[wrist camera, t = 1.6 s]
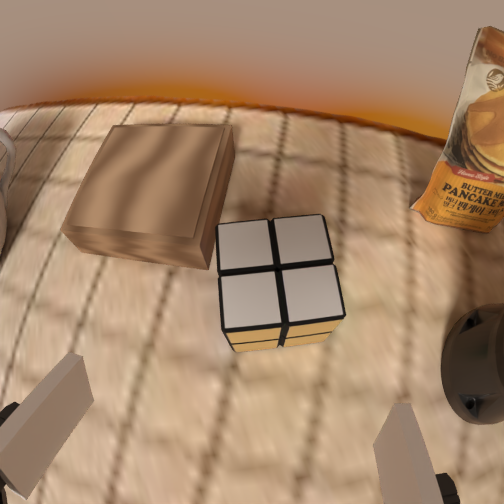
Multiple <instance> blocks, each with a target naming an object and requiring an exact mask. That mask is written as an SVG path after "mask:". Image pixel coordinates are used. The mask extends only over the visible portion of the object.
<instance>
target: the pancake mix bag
mask: <svg viewBox="0 0 504 504" xmlns="http://www.w3.org/2000/svg"><path fill="white" fill-rule="evenodd" d="M410 209H413V210H415V211H418V212H420V214H421V215H422V216H423V218H424V219H425V220H426V221H428V222H431V223H434V224H437V225H443V226H448V227H454V228H460V229H466V230H471V231H475V232H481V233H490V231H491V230H492V228H493V227H494V226H496V225H498V224H499V223H500V221H501V220H502V218H503V217H504V31H501V30H499V29H497V28H494V27H492V26H488V27H484V28H480V29H478V31H477V35H476V37H475V41H474V43H473V47H472V50H471V54H470V57H469V60H468V64H467V67H466V74H465V81H464V84H463V87H462V91H461V94H460V96H459V99H458V102H457V105H456V108H455V111H454V114H453V118H452V122H451V126H450V131H449V135H448V139H447V143H446V146H445V148H444V150H443V152H442V154H441V156H440V158H439V160H438V161H437V163H436V165H435V167H434V169H433V173H432V176H431V179H430V182H429V184H428V186H427V188H426V190H425V192H424V194H423V195H421V196H420V197H418V198H417V199H416V201H415V202H414V203H413V204H412V206H411V207H410Z"/></svg>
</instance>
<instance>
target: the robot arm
mask: <svg viewBox="0 0 504 504" xmlns="http://www.w3.org/2000/svg"><path fill="white" fill-rule="evenodd" d="M441 373H442V383H443V388H444V392H445V395H446V397H447V400H448V402H449V404H450V406H451V407H452V409H453V410H454V411H455V413H456V414H457V415H458V416H459V417H461V418H462V419H463V420H465V421H467V422H469V423H472V424H477V425H485V424H495V423H499V422H502V421H504V303H502V304H488V305H484V306H480V307H478V308H476V309H474V310H473V311H471V312H469V313H468V314H466V315H464V316H463V317H462V318H461V319H460V320H459V321H458V322H457V323H456V324H455V326H454V327H453V329H452V330H451V332H450V334H449V336H448V338H447V341H446V343H445V347H444V351H443V356H442V365H441ZM93 401H94V399H93V395H92V392H91V388H90V384H89V381H88V377H87V373H86V369H85V364H84V360H83V356H80V355H77V354H74V353H71V352H69V353H68V354H67V355H66V356H65V357H64V358H63V359H62V360H61V361H60V362H59V363H58V364H57V365H56V366H55V367H54V368H53V369H52V370H51V371H50V372H49V374H48V375H47V376H46V377H45V378H44V379H43V380H42V381H41V382H40V383H39V384H38V385H37V386H36V388H35V389H34V390H33V391H32V392H31V393H30V394H29V395H28V396H27V397H26V398H25V400H24V401H23V402H22V403H21V404H18V403H16V402H13V403H12V404H10V405H8V406H6V407H5V408H4V409H3V410H2V411H1V412H0V504H8V503H7V497H6V492H5V489H4V486H5V485H6V484H7V486H8V487H9V488H10V489H11V490H12V491H13V492H14V493H16V494H17V495H19V496H20V497H22V498H24V499H25V500H27V499H28V497H29V496H30V494H31V493H32V491H33V489H34V488H35V486H36V485H37V483H38V482H39V480H40V479H41V477H42V476H43V474H44V473H45V471H46V470H47V468H48V467H49V465H50V464H51V462H52V461H53V459H54V458H55V456H56V455H57V453H58V452H59V450H60V449H61V447H62V446H63V444H64V443H65V441H66V440H67V439H68V437H69V436H70V434H71V433H72V431H73V430H74V428H75V427H76V426H77V424H78V423H79V421H80V420H81V418H82V417H83V416H84V414H85V413H86V411H87V410H88V408H89V407H90V406H91V404H92V403H93ZM373 447H374V452H375V457H376V463H377V468H378V473H379V479H380V484H381V490H382V496H383V502H384V504H460V499H459V496H458V495H457V489H456V486H455V483H454V481H453V480H452V479H451V478H450V477H449V475H448V474H447V473H442V474H436V475H435V473H434V470H433V466H432V463H431V460H430V457H429V454H428V451H427V448H426V445H425V442H424V439H423V437H422V434H421V431H420V428H419V425H418V422H417V420H416V417H415V414H414V412H413V409H412V406H411V404H410V403H394V405H393V407H392V409H391V411H390V413H389V415H388V417H387V419H386V421H385V423H384V425H383V427H382V429H381V431H380V433H379V435H378V437H377V438H376V440H375V442H374V444H373Z"/></svg>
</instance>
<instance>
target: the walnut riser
mask: <svg viewBox="0 0 504 504" xmlns="http://www.w3.org/2000/svg"><path fill="white" fill-rule="evenodd" d="M234 158H235V150H234V141H233V132H232V125H213V124H134V125H113V126H112V128H111V130H110V131H109V133H108V135H107V136H106V138H105V140H104V142H103V143H102V145H101V147H100V149H99V151H98V152H97V154H96V156H95V158H94V160H93V162H92V164H91V166H90V167H89V169H88V171H87V173H86V175H85V177H84V179H83V181H82V183H81V185H80V187H79V189H78V192H77V194H76V196H75V198H74V200H73V202H72V204H71V207H70V209H69V211H68V213H67V215H66V218H65V220H64V222H63V225H62V227H61V229H60V230H61V231H62V232H63V233H64V234H65V236H66V237H67V238H68V239H69V240H70V241H71V242H72V243H73V244H74V245H75V246H76V247H77V248H78V249H79V250H80V251H81V252H83V253H89V254H96V255H103V256H109V257H116V258H123V259H130V260H137V261H144V262H151V263H158V264H166V265H173V266H181V267H188V268H196V269H203V270H209V266H210V261H211V257H212V252H213V248H214V243H215V239H216V238H215V227H216V225H217V224H219V221H220V217H221V212H222V208H223V204H224V200H225V195H226V191H227V187H228V183H229V179H230V175H231V170H232V166H233V162H234Z"/></svg>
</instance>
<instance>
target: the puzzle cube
mask: <svg viewBox="0 0 504 504" xmlns="http://www.w3.org/2000/svg"><path fill="white" fill-rule="evenodd" d="M215 238H216V256H217V272H218V275H219V278H218V288H219V303H220V317H221V330H222V332H223V334H224V335H225V337H226V339H227V341H228V343H229V345H230V346H231V348H232V350H234V351H235V352H243V351H253V350H262V349H271V348H277V347H278V346H279V345H281V346H282V347H287V346H295V345H302V344H309V343H316V342H323V341H324V340H325V339H326V338H327V337H328V336H329V335H330V333H331V332H332V331H333V330H334V329H335V328H336V327H337V326H338V324H339V323H340V322H341V321H342V320H343V319H344V317H345V316H346V312H345V307H344V302H343V297H342V292H341V287H340V282H339V277H338V273H337V268H336V266H335V265H334V264H333V261H334V255H333V250H332V246H331V242H330V238H329V233H328V229H327V225H326V221H325V217H324V216H323V215H321V214H312V215H301V216H291V217H280V218H273V219H272V220H271V221H269V220H268V219H258V220H248V221H238V222H229V223H220V224H217V225H216V227H215Z"/></svg>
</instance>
